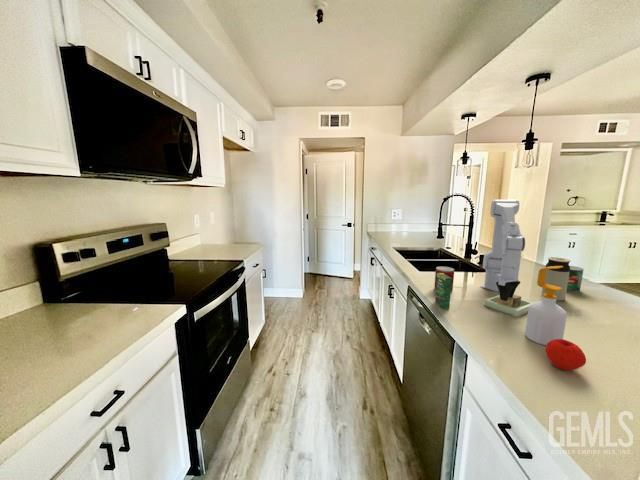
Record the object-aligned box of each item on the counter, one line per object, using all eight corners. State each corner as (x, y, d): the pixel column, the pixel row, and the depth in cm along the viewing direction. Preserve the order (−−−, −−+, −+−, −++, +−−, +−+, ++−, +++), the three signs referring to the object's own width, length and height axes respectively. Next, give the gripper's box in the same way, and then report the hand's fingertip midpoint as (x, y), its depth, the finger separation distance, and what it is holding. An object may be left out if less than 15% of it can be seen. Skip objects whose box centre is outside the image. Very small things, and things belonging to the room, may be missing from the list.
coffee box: (434, 301, 114) (436, 272, 112) (440, 301, 114) (443, 272, 112) (442, 309, 106) (445, 278, 104) (449, 309, 106) (452, 278, 104)
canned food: (455, 293, 123) (457, 270, 121) (438, 293, 123) (440, 270, 121) (447, 287, 131) (449, 266, 129) (431, 287, 131) (433, 266, 129)
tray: (502, 299, 116) (503, 293, 115) (534, 309, 105) (535, 303, 105) (484, 305, 109) (484, 299, 109) (516, 317, 99) (517, 310, 98)
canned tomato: (577, 288, 129) (581, 267, 127) (582, 293, 123) (586, 270, 121) (556, 285, 133) (559, 264, 131) (559, 290, 127) (563, 268, 125)
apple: (592, 376, 67) (597, 350, 65) (563, 378, 66) (568, 351, 65) (561, 357, 74) (565, 333, 73) (535, 358, 74) (539, 334, 73)
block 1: (500, 304, 109) (501, 295, 108) (511, 307, 106) (513, 298, 105) (496, 306, 107) (497, 297, 106) (507, 310, 103) (509, 300, 103)
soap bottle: (553, 350, 78) (566, 271, 73) (519, 336, 86) (529, 263, 81) (567, 342, 82) (580, 267, 78) (533, 329, 90) (543, 260, 86)
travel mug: (545, 299, 115) (551, 260, 112) (538, 293, 123) (544, 256, 120) (568, 302, 112) (575, 261, 109) (559, 295, 120) (566, 257, 117)
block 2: (509, 302, 111) (510, 293, 110) (520, 305, 108) (521, 296, 107) (504, 304, 109) (505, 295, 108) (515, 307, 106) (516, 298, 105)
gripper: (505, 261, 110) (502, 291, 113) (491, 266, 102) (487, 299, 104) (526, 265, 105) (521, 297, 107) (512, 271, 96) (508, 305, 98)
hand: (506, 298), depth 105 cm, fingers open, 5 cm apart
